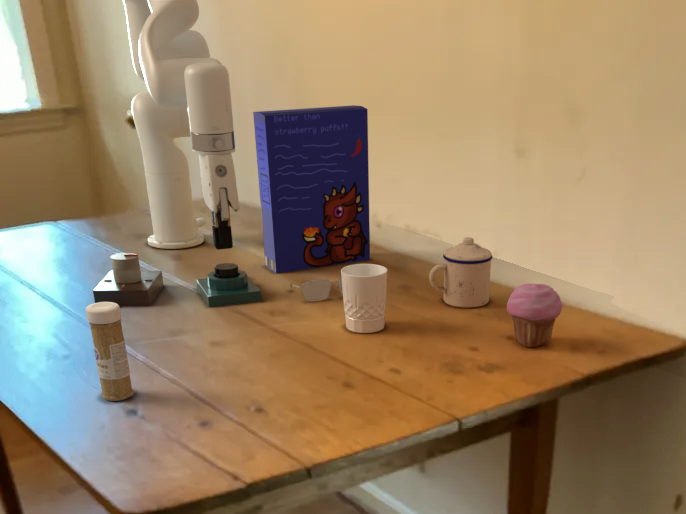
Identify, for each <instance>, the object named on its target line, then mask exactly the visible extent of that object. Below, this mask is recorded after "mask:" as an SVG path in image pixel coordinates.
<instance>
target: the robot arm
mask: <svg viewBox="0 0 686 514" xmlns="http://www.w3.org/2000/svg"><path fill="white" fill-rule="evenodd" d="M122 2H123V5H124V10H125V16H126V24H127V32H128V33H127V34H128V40H129V47H130V53H131V54H130V55H131V60H132V65H133V69H134V73H135V75H136V76H137V77H138V79H140V80H142V81H143V82H145V84H146V87H147V89H146V90H143V91H140V92H138V93H136V94H135V96H133V98H132V101H131V107H130V108H131V115H132V119H133V122H134V126H135V129H136V133H137V137H138V140H139V146H140V150H141V155H142V162H143V170H144V176H145V182H146V183H145V184H146V190H147V196H148V203H149V204H148V205H149V212H150V217H151V224H152V231H153V234H151V235H149V236H148V237H147V245H149V246H150V247H152V248H157V249H162V250H163V249H165V250H178V249H187V248H193V247H197V246H199V245H201V244H203V243H204V241H205V237H204V234H202V233H201V232H199V228H202V227H205V226H206V224H207V220H206V219H205V218H204V217H203V216H201V217H199V218H197V217H196V216H195V210H194V209H195V208H194V201H193V191H192V185H191V184H192V183H191V175H190V168H189V161H188V158H187V155H186V154H185V153H184V152H183V150H182V149H181V148H180V147H179V146H178V145H177V144H176V143H175V142H174V139H180V138H190V141H191V151H192V153H193V154H197V155H198V162H199V172H200V181H201V182H200V183H201V190H202V197H203V201H204V204H205V205H206V207H208V209H209V210H210V216H211V223H212V225H211V226H212V227H211V228H212V229H211V231H212V239H213V246H214V248H215V249H216V250H219V251H220V250H229V249H233V248H234V243H233V233H232V232H233V231H232V225H231V213H230V212H231V211H230V208H231V209H232V210H233V211H234V212H238V211H239V210H240V203H239V194H238V193H239V192H238V186H237V179H236V170H235V164H234V160H233V155H232V154H233V153H235V152H236V141H235V140H236V139H235V131H234V130H235V129H234V118H233V117H234V115H233V105H232V93H231V83H230V73H229V71H228V69H227V67H226V66H225V65H224V64H223V63H222V62H221V61H220V60H219V59H216V58H213V57H211V54H210V53H211V52H210V49H209V45H208V43H207V40H206V39H205V37H204V35H202V33H201V32H200V31H197V30H193V29H192V28H193V27H194V26H195V24H196V23H197V21H198V20H199V16H200V8H199V3H198V0H122Z"/></svg>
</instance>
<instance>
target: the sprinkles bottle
mask: <svg viewBox="0 0 686 514" xmlns="http://www.w3.org/2000/svg"><path fill="white" fill-rule="evenodd" d="M120 307H121V306H119V305H118V304H116V303H113V302H98V303H95V302H93V303H91V304H89V305H87V306H86V308H85V315H86V320H87V321H88V324H89V326H90V332H91V338H92V343H93V350H94V351H93V352H94V356H95V361H96V368H97V373H98V377H99V382H100V388H101V396H102V398H103V399H104V400H106V401H111V402H117V401H118V402H120V401H124V400H126V399H129V398H131V397H132V396H134V389H133V386H132V381H131V375H130V374H131V370H130V365H129V364H130V363H129V357H128V353H127V345H126V340H125V337H124V332H123V326H122V312H121V308H120Z"/></svg>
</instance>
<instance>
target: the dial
mask: <svg viewBox="0 0 686 514" xmlns="http://www.w3.org/2000/svg"><path fill="white" fill-rule="evenodd" d="M110 261H111V267H112V271H113V274H114V280H115V282H116V283H120V284H130V283H136V282H139V281H141V280H142V277H141V271H142V270H141V265H140V257H139V254H138V253H136V252H135V253H134V252H119V253H115V254H112V255H111V256H110Z"/></svg>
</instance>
